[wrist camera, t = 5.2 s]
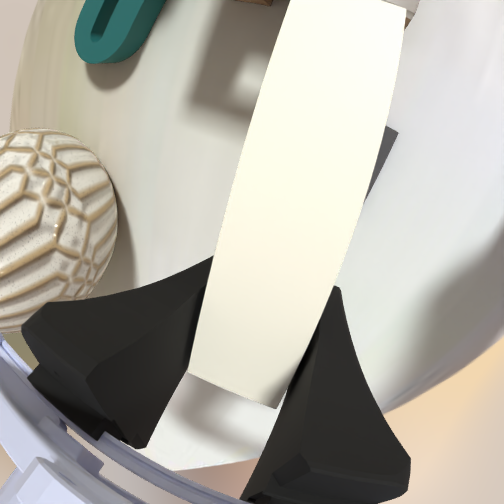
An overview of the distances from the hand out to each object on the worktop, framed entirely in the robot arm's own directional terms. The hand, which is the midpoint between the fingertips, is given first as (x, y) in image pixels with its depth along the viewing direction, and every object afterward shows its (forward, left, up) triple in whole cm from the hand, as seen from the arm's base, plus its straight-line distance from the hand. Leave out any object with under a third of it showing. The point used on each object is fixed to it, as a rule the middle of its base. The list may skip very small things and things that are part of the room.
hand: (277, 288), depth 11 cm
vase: (+20, +7, -9) cm, 23 cm away
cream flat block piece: (0, -3, -3) cm, 4 cm away
